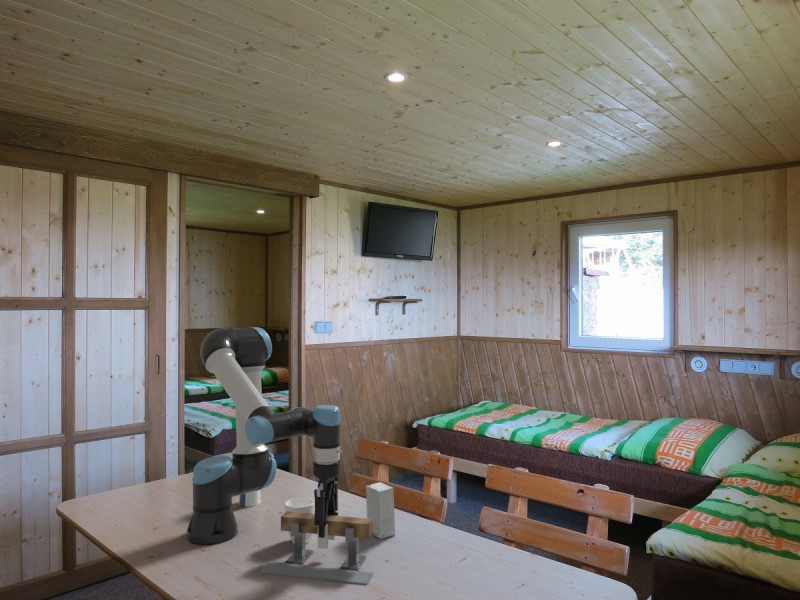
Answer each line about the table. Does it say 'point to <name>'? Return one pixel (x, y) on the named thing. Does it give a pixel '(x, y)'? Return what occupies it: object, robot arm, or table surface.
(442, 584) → the table surface
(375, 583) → the table surface
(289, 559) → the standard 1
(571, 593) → the table surface
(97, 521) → the table surface
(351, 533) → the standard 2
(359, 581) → the mat
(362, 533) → the rail
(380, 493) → the skincare box
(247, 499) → the water bottle
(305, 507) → the mug
